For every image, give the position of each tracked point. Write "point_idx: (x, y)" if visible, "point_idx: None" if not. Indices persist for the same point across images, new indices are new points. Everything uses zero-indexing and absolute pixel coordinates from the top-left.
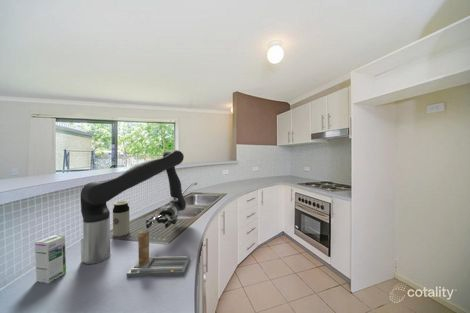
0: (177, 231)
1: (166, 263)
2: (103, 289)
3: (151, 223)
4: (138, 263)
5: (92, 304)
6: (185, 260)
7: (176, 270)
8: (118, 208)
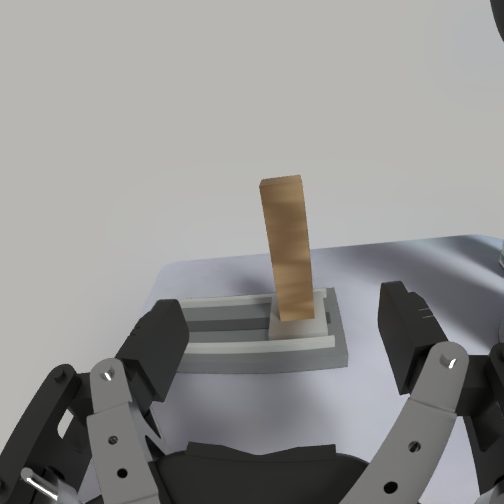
0: None
1: (208, 327)
2: (361, 269)
3: (406, 375)
4: (315, 303)
5: (346, 250)
6: None
7: None
8: None
